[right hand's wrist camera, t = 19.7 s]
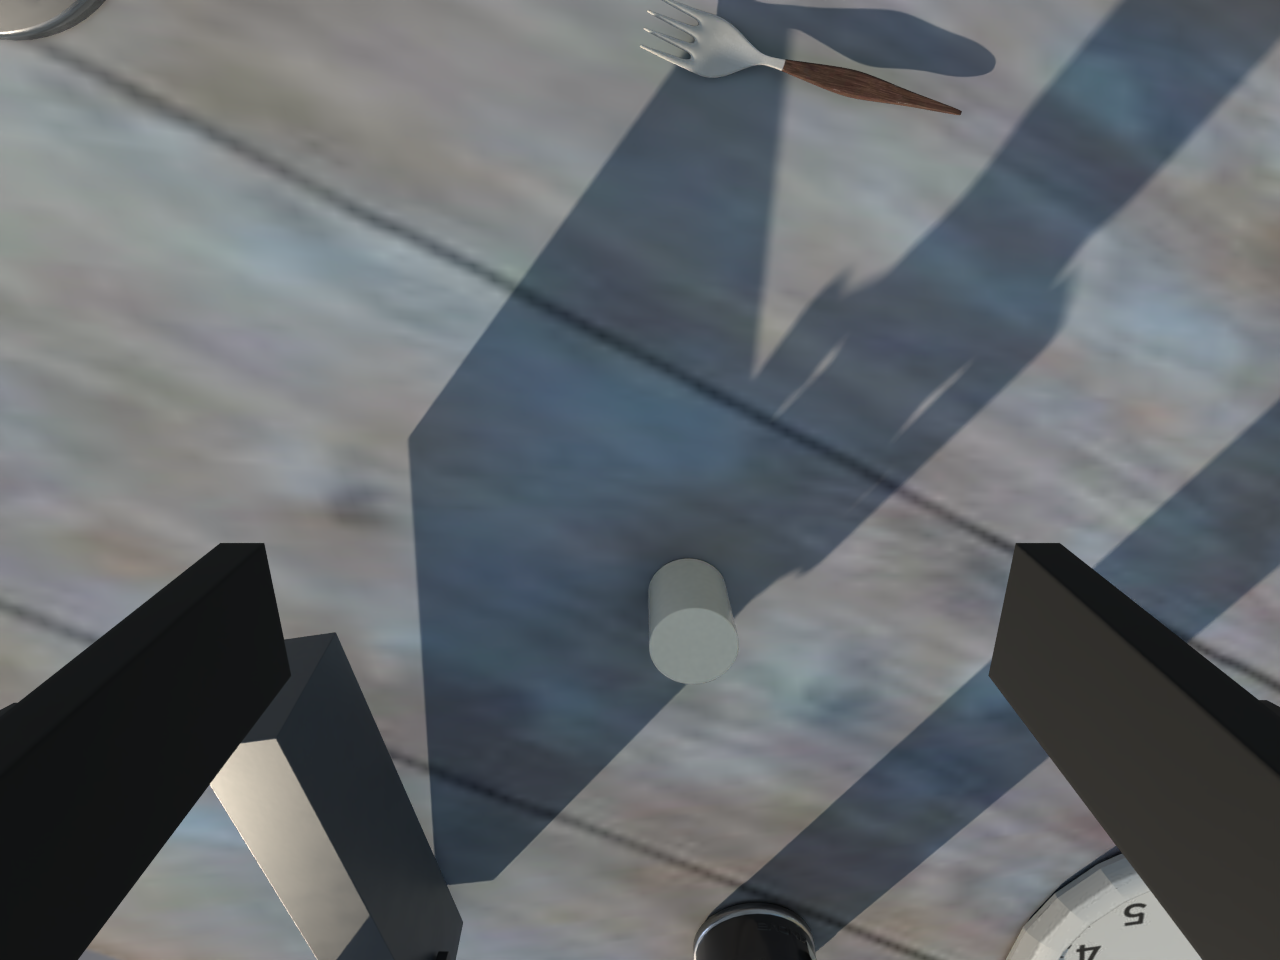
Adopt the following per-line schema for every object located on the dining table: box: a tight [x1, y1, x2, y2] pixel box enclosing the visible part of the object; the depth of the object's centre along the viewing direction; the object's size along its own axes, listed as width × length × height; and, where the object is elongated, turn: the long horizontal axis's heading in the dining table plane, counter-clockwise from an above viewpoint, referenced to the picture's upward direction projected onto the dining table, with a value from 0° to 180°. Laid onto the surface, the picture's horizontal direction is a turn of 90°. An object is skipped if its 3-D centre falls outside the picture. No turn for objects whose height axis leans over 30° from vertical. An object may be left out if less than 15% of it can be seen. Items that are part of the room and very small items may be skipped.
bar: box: [210, 633, 463, 960], centre depth 44 cm, size 28×4×8 cm, turn 9°
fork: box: [640, 0, 962, 115], centre depth 34 cm, size 3×16×2 cm, turn 77°
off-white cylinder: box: [648, 558, 739, 684], centre depth 42 cm, size 5×5×6 cm
